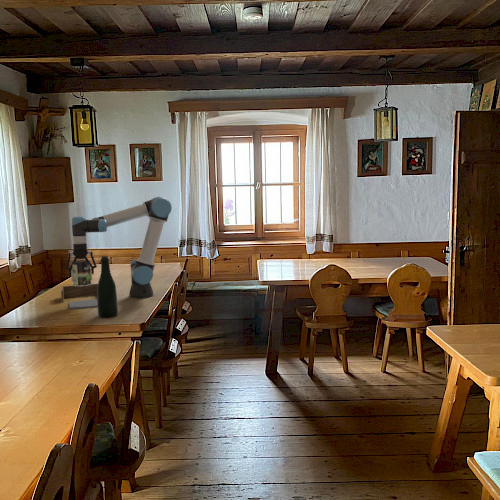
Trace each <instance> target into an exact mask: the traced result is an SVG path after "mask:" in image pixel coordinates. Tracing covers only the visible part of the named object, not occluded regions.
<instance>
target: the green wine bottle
mask: <svg viewBox="0 0 500 500" xmlns="http://www.w3.org/2000/svg"><path fill="white" fill-rule="evenodd" d="M100 269H101V270H100V275H99V279H98V282H97V284H98V286H97V295H96V300H97V303H98V307H97V316H98V317H99V318H103V319H106V318H107V319H108V318H114V317H116V316H117V315H118V314H119V309H118V308H119V306H118V295H117V286H116V283H115V280H114V277H113V276H112V273H111V269H110V259H109V256H108V255H102V256H101V258H100Z"/></svg>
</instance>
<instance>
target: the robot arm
mask: <svg viewBox="0 0 500 500" xmlns="http://www.w3.org/2000/svg"><path fill="white" fill-rule="evenodd" d="M172 209H173V208H172V203H171V201H170V200H169V199H168V198H166V197H162V196H156V197H153V198H151V199H149V200H146V201H143V203H142V204H139V205H135V206H131V207H127V208H125V209H121V210H118V211H115V212H112V213H108V214H105V215H101V216H98V217H94V218H92V219H86V217H85V216H73V217H72V218H71V229H72V231H71V233H72V243H73V244H72V247H73V248H72V249H73V251H72V252H68V253H67V256H68V257H67V260H66V261H67V262H66V265H65V270H66V271H67V270H68V275H69V276H71V282H73V271H72V263H71V264H70V261H71V257H72V256H74V258H73V261H72V262H76V261H78V260H86V261H87V262H88V261H90V260H89V258H88V257H87V256H88V255H89V256H90V258H91V261H92V262H90V273H91V281H93V275H94V274H95V271H94V270H95V269H96V268H97V267H98V266H97V263H96V260H95V259H94V256H93V251H92V250H91V251H88V247H87V245H88V244H87V234H88V233H105V232H107V230H108V228H109V227H114V226H116V225H120V224H123V223H126V222H127V223H128V222H130V221H134V220H136V219H140V218H143V217H148V219H149V222H148V225H147V230H146V234H145V235H144V236H145V237H144V240H143V243H142V248H141V249H140V250H141V251H140V254H139V257H138V258H137V259H136V260H131V261H130V264H129V266H130V277H131V278H130V280H131V285H130V288H129V298H132V299H133V298H134V299H144V298H150V297H153V296H154V290H153V288H152V284H151V281H152V280H153V277H154V270H155V267H156V266H155V265H156V264H155V261H154V260H155V256H156V253H157V249H158V246H159V242H160V238H161V236H162V231H163V227H164V224H165V223H167V222H168V219H169V215H170V214H171V212H172ZM92 264H93V265H92ZM69 265H70V266H69Z"/></svg>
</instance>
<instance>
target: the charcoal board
mask: <svg viewBox="0 0 500 500" xmlns="http://www.w3.org/2000/svg"><path fill="white" fill-rule="evenodd" d="M68 306H69V307H68V308H69V310H80V309H81V310H82V309H88V308H89V309H91V308H98V303H97V299H88V300H77V301H76V300H75V301H69V305H68Z"/></svg>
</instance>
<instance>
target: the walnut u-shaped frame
mask: <svg viewBox="0 0 500 500" xmlns="http://www.w3.org/2000/svg"><path fill="white" fill-rule="evenodd" d="M97 286H98V283H91V285H89V286H81V287H77V286H73V285H67V286H66V285H64V286H61V290H60V292H61V293H60V295H61V303H64V301H65V298H74V297H86V296H94V295H95V296H97Z"/></svg>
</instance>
